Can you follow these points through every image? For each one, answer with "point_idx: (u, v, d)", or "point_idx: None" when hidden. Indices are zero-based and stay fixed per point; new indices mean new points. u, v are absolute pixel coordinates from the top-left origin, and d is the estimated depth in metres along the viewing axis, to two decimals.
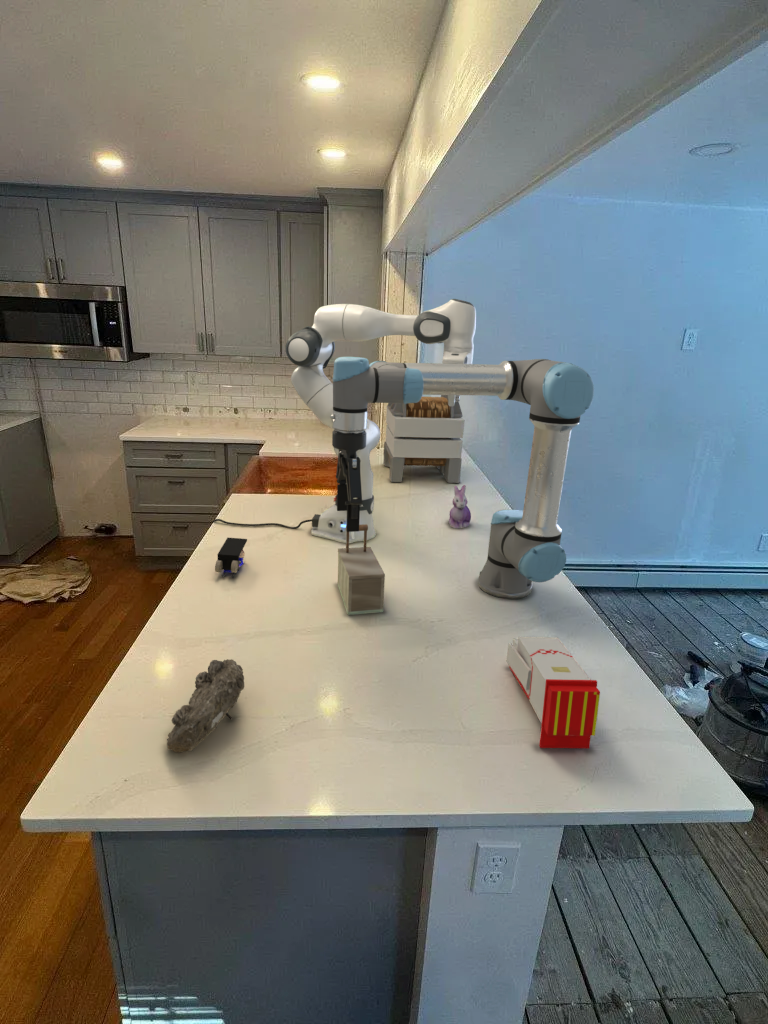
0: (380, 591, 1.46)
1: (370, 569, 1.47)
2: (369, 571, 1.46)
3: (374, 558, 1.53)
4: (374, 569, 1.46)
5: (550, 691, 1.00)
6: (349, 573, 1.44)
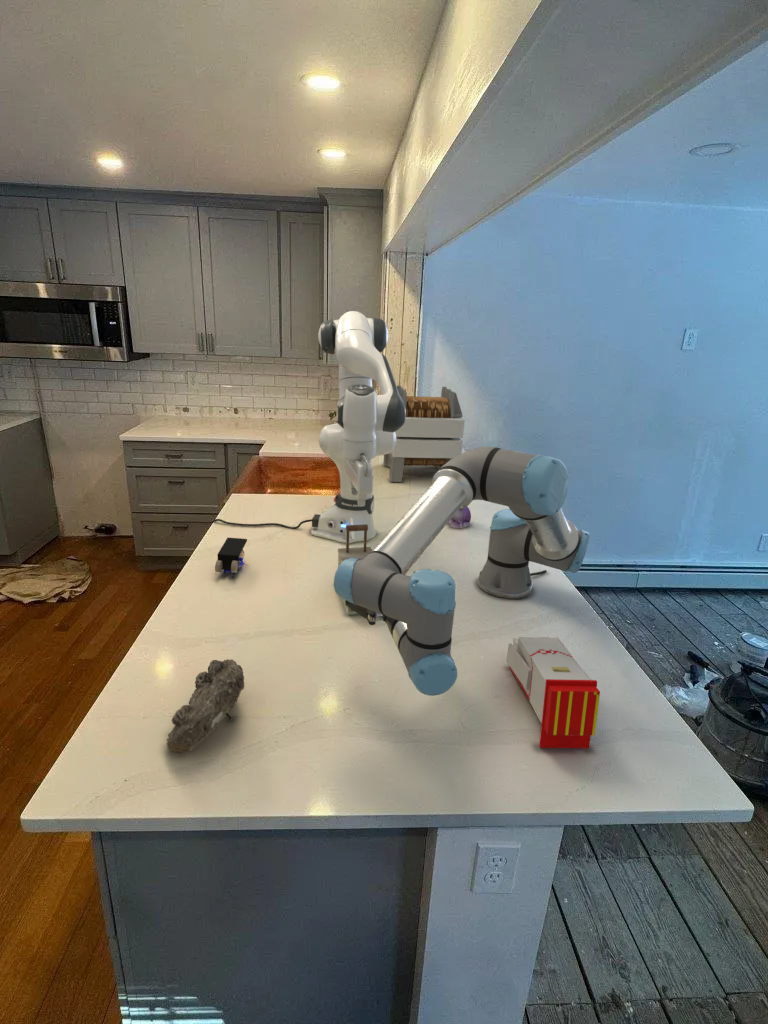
0: None
1: None
2: None
3: None
4: None
5: (550, 691, 1.00)
6: None
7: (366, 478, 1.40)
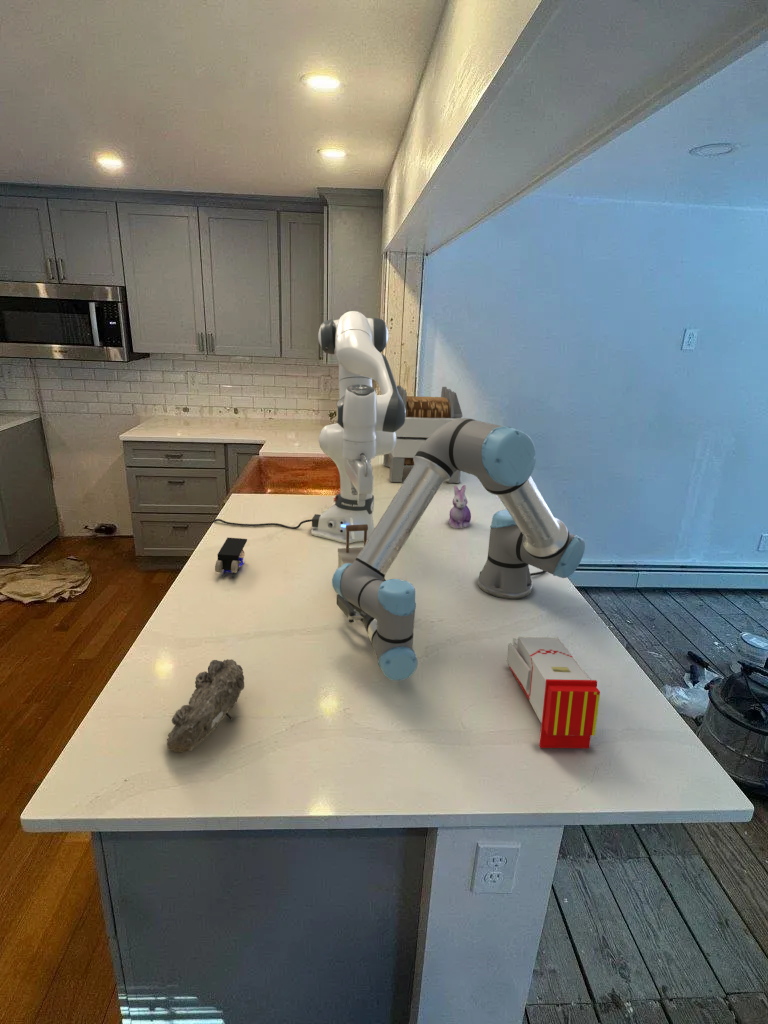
0: None
1: None
2: None
3: None
4: None
5: (550, 691, 1.00)
6: None
7: (366, 478, 1.40)
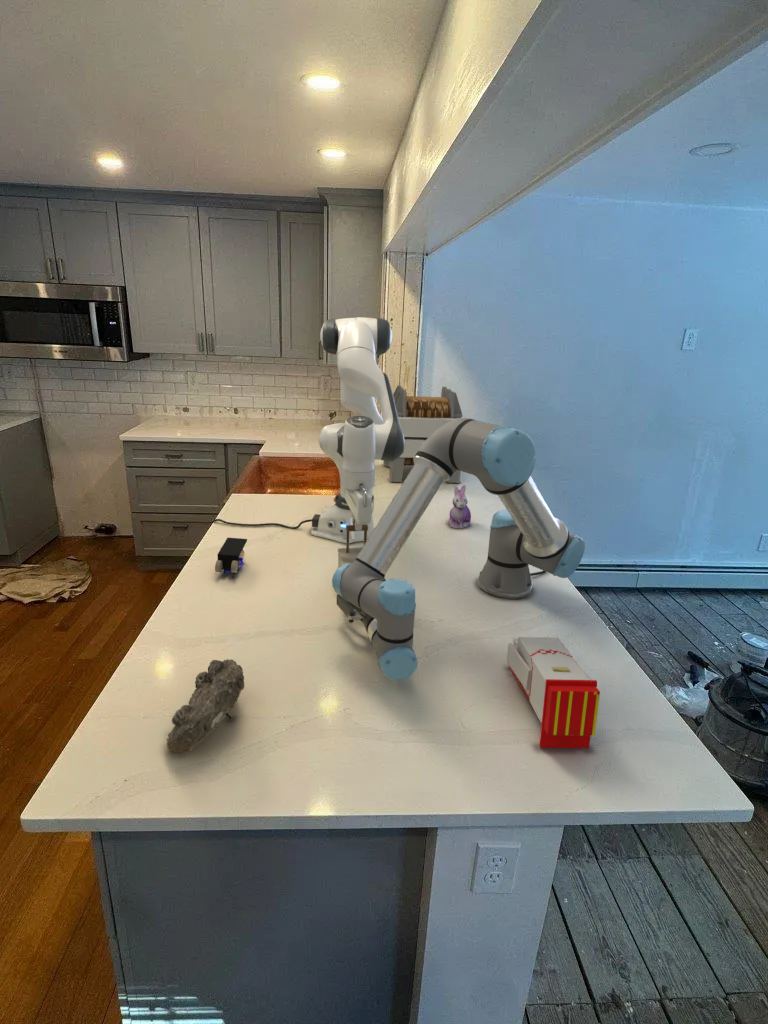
0: None
1: None
2: None
3: None
4: None
5: (550, 691, 1.00)
6: None
7: (365, 508, 1.43)
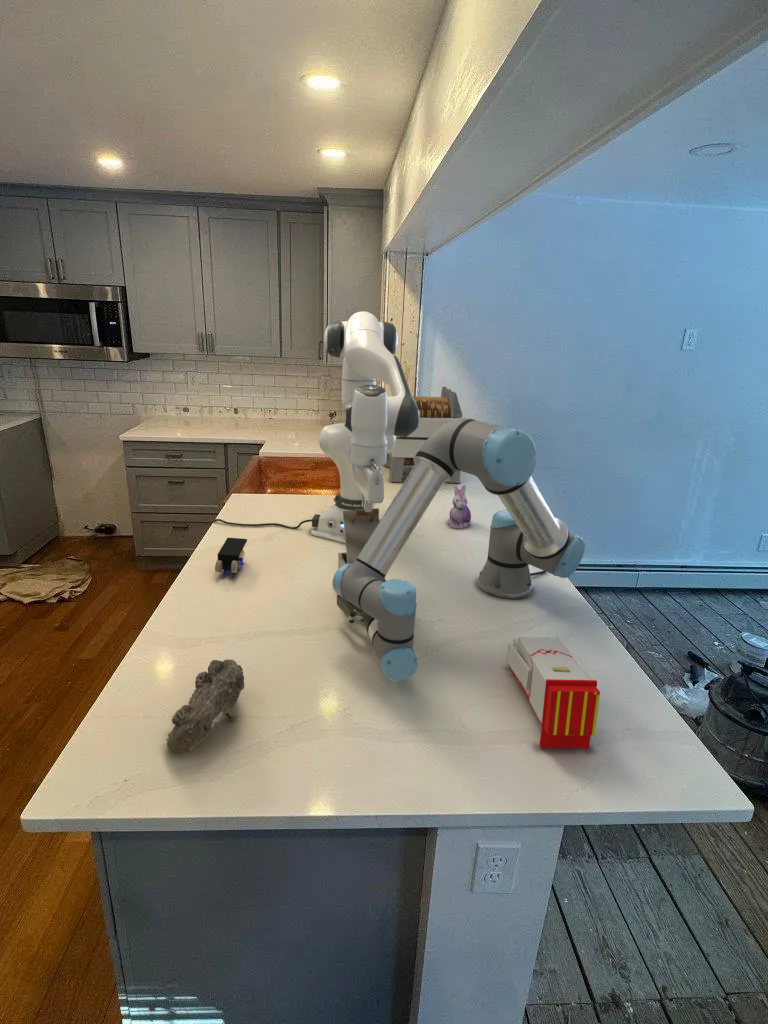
0: None
1: None
2: None
3: None
4: None
5: (550, 691, 1.00)
6: None
7: (377, 486, 1.28)
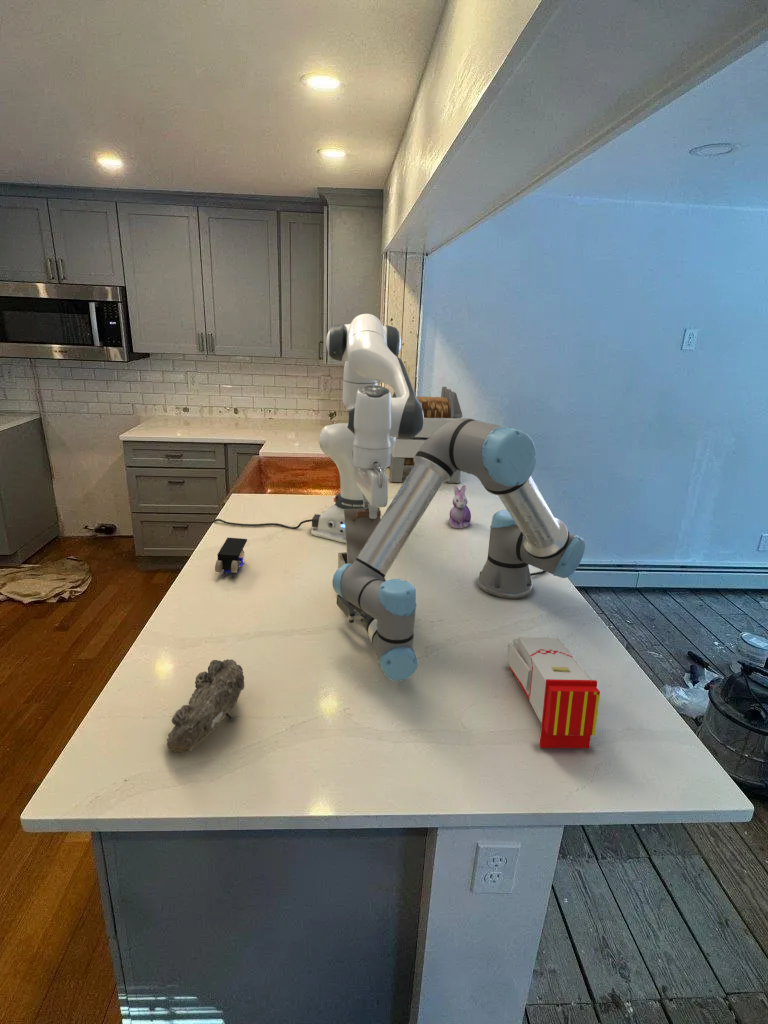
0: None
1: None
2: None
3: None
4: None
5: (550, 691, 1.00)
6: None
7: (380, 489, 1.25)
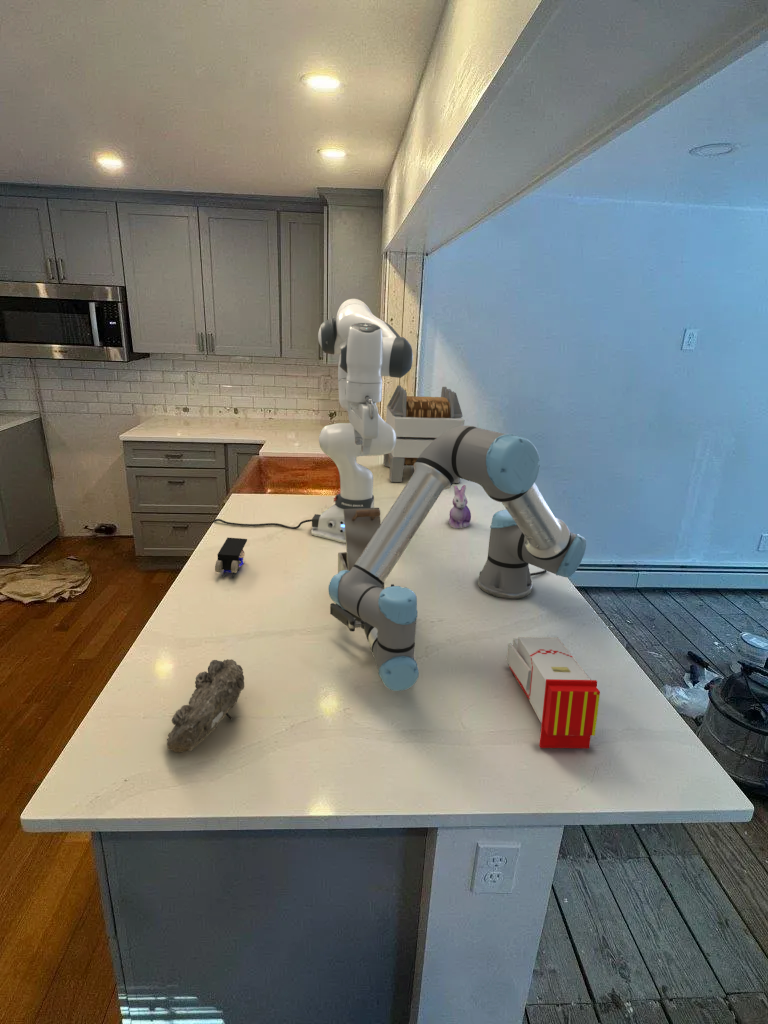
0: None
1: None
2: None
3: None
4: None
5: (550, 691, 1.00)
6: None
7: (371, 421, 1.31)
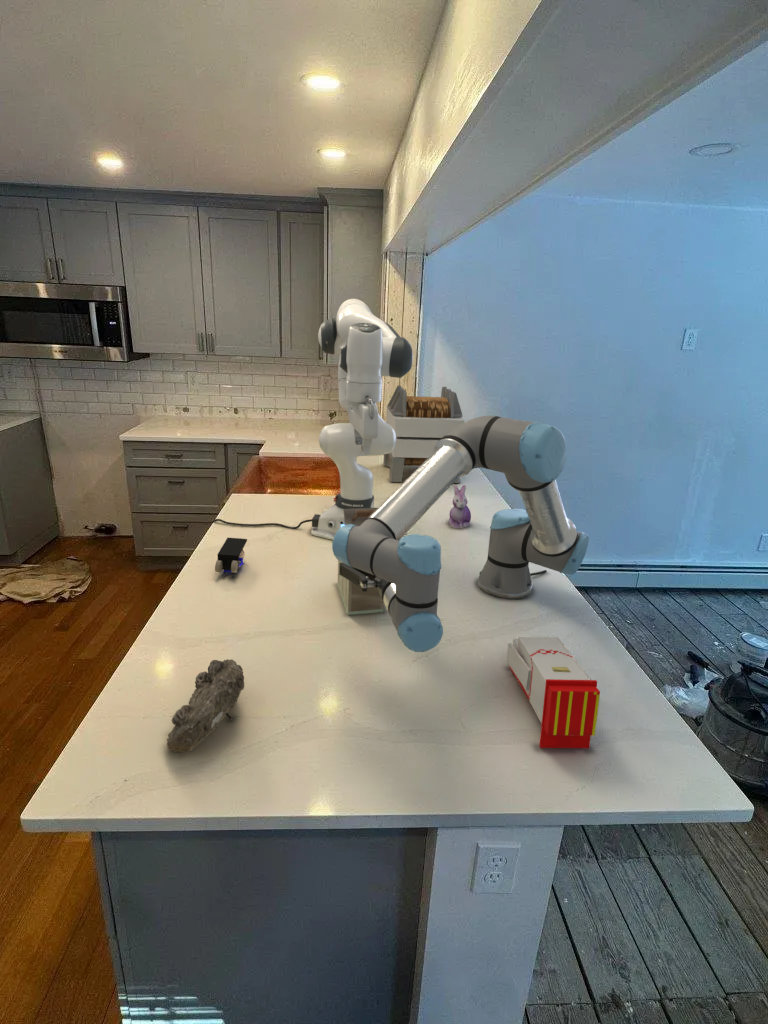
0: None
1: None
2: None
3: None
4: None
5: (550, 691, 1.00)
6: None
7: (371, 421, 1.31)
